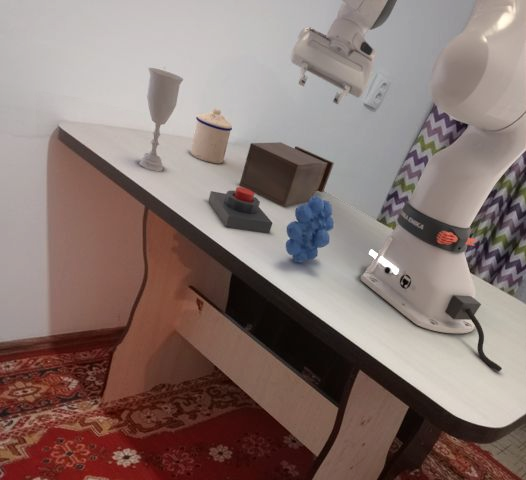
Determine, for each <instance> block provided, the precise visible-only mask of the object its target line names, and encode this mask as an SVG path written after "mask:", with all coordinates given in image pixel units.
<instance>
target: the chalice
mask: <svg viewBox="0 0 526 480" xmlns="http://www.w3.org/2000/svg"><path fill="white" fill-rule="evenodd" d="M148 73H149V79H148V88H147V94H146V99H147V105H148V110H149V115H150V118H151V121H152V122H153V123H155V125H154V126H155V128H154V130H153V132H152V135H153V139H152V140H151V141H150V143H151V150H150V151H149V152H147V153H145V154H144V155H143V157H142V158H141V160H140V162H139V166H141V167H143V168H145V169H147V170H151V171H155V172H156V171H157V172H161V171H164V167H163V162H162V158H161V157H160V156H159V155H158V153H157V148H158V146H159V145H160V143H159V138H160V136H161V133H160V132H161V131H160V128H161V126H162V125H165V124H166V123H167V122H168V121H169V119H170V118H171V116H172V114H173V112H174V110H175V108H176V107H177V103H178V97H179V91H180V85H181V84H182V82H183V81H184V78H183V77H181V76H180V75H177V74H175V73H172V72H169V71H166V70H162V69H160V68H156V67H148Z"/></svg>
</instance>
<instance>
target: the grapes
mask: <svg viewBox="0 0 526 480" xmlns="http://www.w3.org/2000/svg"><path fill="white" fill-rule="evenodd" d="M294 215H295V219H296V220H293V221H291V222H289V223H288V224H287V225H286V234H287V237H288V238H289V239H287V240H286V242H285V251H286V252H287V254H288V255H290V256H292V259H293V261H294V262H295V263H297V264H301V263H304V262H306V261H307V260H309V261H311V260H315V259H316V258H317V257H318V255H319V251H318V250H319V249H321V248H324V247H326V246H328V245H329V244H330V234H329V232H330V231H331V230H333V229H334V226H335V225H334V219H333V217H332V215H333V206H332V203H330V201H328V200H327V199H326V200H323V199H322V198H321V196H319V195H315V196H312V197H311V198H310V199H309V200H308V201H307V203H306V204H305V203H303V204H300V205H298V206H297V207H296V208H295V211H294Z"/></svg>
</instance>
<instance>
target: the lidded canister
mask: <svg viewBox="0 0 526 480" xmlns="http://www.w3.org/2000/svg"><path fill="white" fill-rule="evenodd" d="M195 119H196V123H195V128H194V132H193V138H192V143H191V147H190V154H191V155H192V156H193V157H195V158H196V159H198V160H201V161H204V162H206V163H212V164H222V163H223V162H224V159H225V156H226V151H227V147H228V143H229V139H230V134H231V131H232V130H233V128H232V127H233V126H232V124H231V123H230V122H229V121H228V120H227V119H226V118H225V117H224V116H223V115H222V110H220V109H219V108H216V107H215V108H213V109H212V111H207V112H206V113H199V114H197V116H196V117H195Z"/></svg>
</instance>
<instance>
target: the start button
mask: <svg viewBox="0 0 526 480" xmlns="http://www.w3.org/2000/svg"><path fill="white" fill-rule="evenodd" d="M234 191H235V194H234V197H236V198H237V199H239V200H242V201H246V202H252V200H253V197H255V193H254V192H253V191H251V190H249V189H247V188H244V187H242V186H237V187H236V188H235V190H234Z"/></svg>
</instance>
